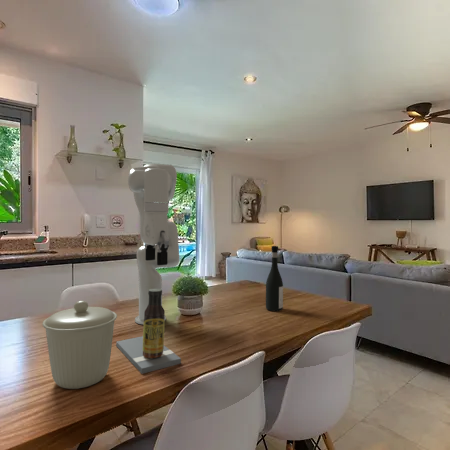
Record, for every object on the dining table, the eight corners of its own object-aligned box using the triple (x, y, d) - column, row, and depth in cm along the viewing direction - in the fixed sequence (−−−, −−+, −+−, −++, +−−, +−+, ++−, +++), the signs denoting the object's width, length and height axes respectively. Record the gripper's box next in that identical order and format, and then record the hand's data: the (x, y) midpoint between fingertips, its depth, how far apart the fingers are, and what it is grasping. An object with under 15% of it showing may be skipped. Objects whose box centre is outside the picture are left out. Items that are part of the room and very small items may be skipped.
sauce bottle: (142, 360, 97) (142, 292, 97) (142, 352, 103) (142, 288, 103) (165, 358, 99) (165, 291, 98) (163, 350, 105) (163, 287, 104)
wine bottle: (282, 307, 161) (282, 245, 161) (283, 312, 153) (284, 247, 153) (265, 307, 162) (265, 245, 161) (265, 311, 154) (266, 246, 153)
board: (116, 345, 112) (116, 341, 112) (150, 338, 119) (150, 334, 119) (141, 373, 92) (141, 368, 92) (180, 363, 99) (180, 358, 99)
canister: (81, 404, 77) (81, 313, 77) (26, 389, 84) (25, 305, 83) (130, 371, 94) (130, 296, 94) (81, 360, 101) (81, 291, 100)
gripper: (135, 207, 110) (135, 259, 111) (155, 209, 96) (155, 268, 97) (156, 208, 114) (156, 257, 115) (179, 209, 100) (178, 265, 101)
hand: (156, 262), depth 106 cm, fingers open, 9 cm apart
